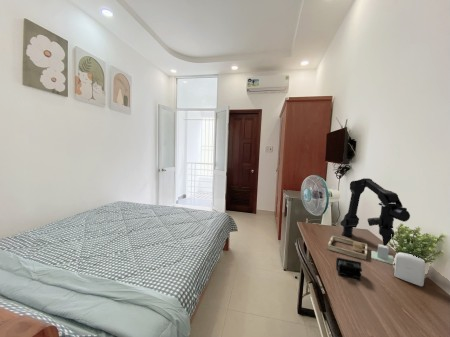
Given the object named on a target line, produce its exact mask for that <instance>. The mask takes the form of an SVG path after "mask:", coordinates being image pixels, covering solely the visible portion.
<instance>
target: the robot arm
mask: <svg viewBox="0 0 450 337" xmlns="http://www.w3.org/2000/svg"><path fill="white" fill-rule="evenodd" d="M365 188H368V189H369V190H370V191H371V192H373V193H374V194H375V195H376V196H377V199H379V201H380V202H379V203H378V205H379V206H381V207H380V215H379V217H372V218H371V217H370V218H367V222H368V226H369V227H372V226H378V234H379V235H380V236H381V237H382V245H384V246H388V244H389V242H390V241H391V240H392V239H391V234H392V237H393V238H394V237H395V230H394V221H395V219H396V220H398V221H400V222H405V223H406V222H408V221H409V220H410V218H411V214H410V212H409V211H408V210H407V207H403V204H402V202H401V200H400V198H399V195H398V194H397V193H396V192H394V191H392V190H388V189H385V188H384V187H383V186H381V185H380V184H378V183H377V182H375V181H374V180H373V179H371V178H368V177H367V178H365V177H364V178H361V179H358V180H352V181H351V182H349V190H350V192H351V195H350V200H349V205H348V206H349V207H348V210H347V213H346V214H345V215H344V216H343V219H342V220H341V221H340V222H339V223H340V226H341V227H343V229H342V233H341V235H342V236H345V237H348V238H353V237H354V233H353V229H354V228H355V229H356V228H357V226H358V224H360V223H359V221H360V218H359V217H358V215H357V213H358V207H359V203H360V199H361V198H360V197H361V195H362V193H364V191H365Z"/></svg>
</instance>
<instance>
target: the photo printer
mask: <svg viewBox="0 0 450 337" xmlns="http://www.w3.org/2000/svg"><path fill="white" fill-rule="evenodd" d="M418 257H419V256H417V257H416V255H414V256H413V254H410V253H408V252H407V253H406V252H397V254H396V256H395V261H394V263H395V265H394V272H393V273H394V274H393V275H394V277H396V278H398V279H399V280H403V281H406V282H408V283H410V284H413V285H416V286H419V287H423V286H425V285H424V283H425V274H426V263H425V262H426V261H425V260H424V259H423V258H421V257H419V258H418Z"/></svg>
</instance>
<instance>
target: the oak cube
mask: <svg viewBox="0 0 450 337" xmlns="http://www.w3.org/2000/svg"><path fill="white" fill-rule="evenodd" d="M358 242H359V241H357V242H353V245H352V251H354V252H358V253H362V252H363V248H362V244H361V243H362V242H361V243H358Z"/></svg>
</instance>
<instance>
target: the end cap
mask: <svg viewBox="0 0 450 337" xmlns="http://www.w3.org/2000/svg"><path fill="white" fill-rule="evenodd" d="M335 260H336V261H335V264H336V265H335V266H336V268H335V269H336V271H337V275H338V276H339V277H342V278H346V279H351V280H356V281H362V280H361V278H362V272H363V269H362V262H361V261H358V260H353V259H348V258H342V257H336V259H335Z"/></svg>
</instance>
